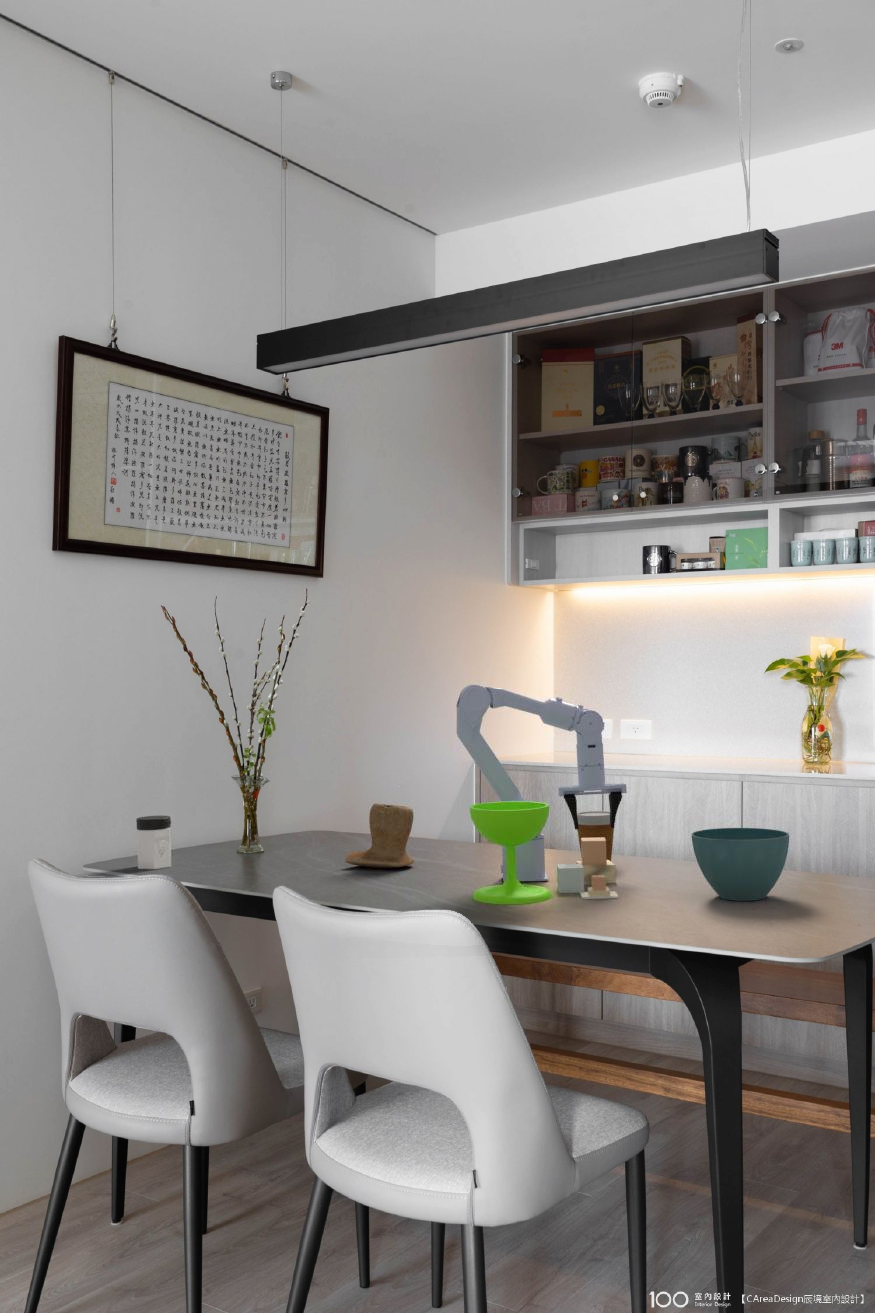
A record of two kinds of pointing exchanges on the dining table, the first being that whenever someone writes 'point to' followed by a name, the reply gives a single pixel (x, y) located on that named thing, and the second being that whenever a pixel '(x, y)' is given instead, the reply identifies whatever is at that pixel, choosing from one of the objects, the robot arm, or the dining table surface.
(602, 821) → the disposable coffee cup
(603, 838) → the terracotta block
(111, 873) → the dining table surface
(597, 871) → the maple base block
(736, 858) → the dark teal bowl
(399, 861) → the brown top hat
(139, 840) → the jar
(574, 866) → the grey block
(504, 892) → the wineglass
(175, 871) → the dining table surface
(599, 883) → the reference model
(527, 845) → the robot arm
